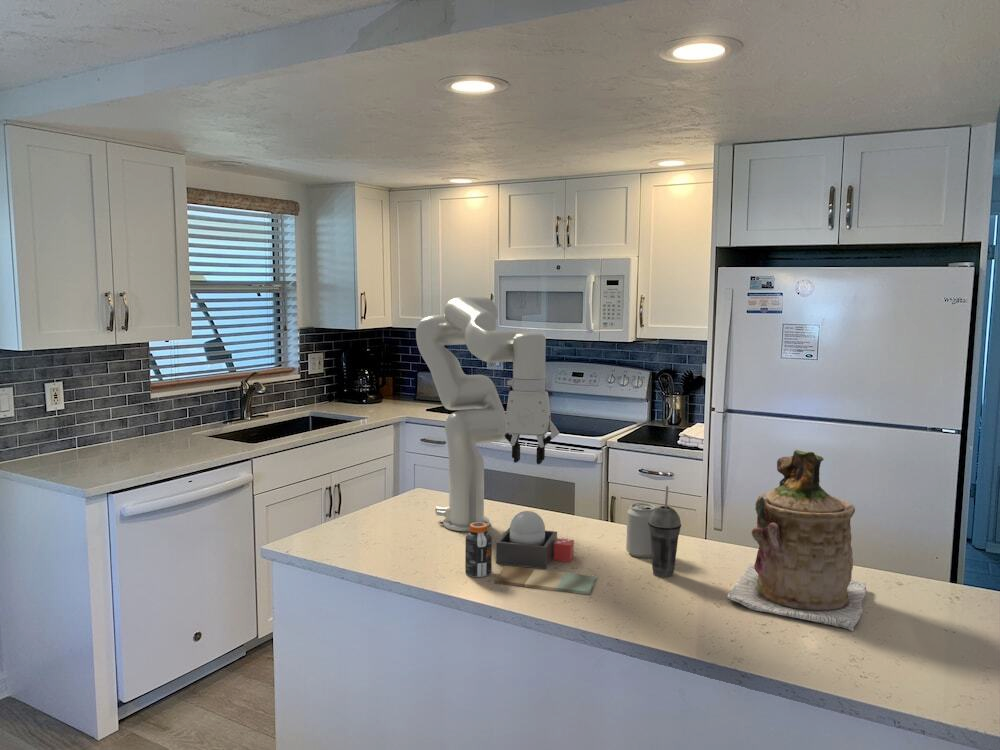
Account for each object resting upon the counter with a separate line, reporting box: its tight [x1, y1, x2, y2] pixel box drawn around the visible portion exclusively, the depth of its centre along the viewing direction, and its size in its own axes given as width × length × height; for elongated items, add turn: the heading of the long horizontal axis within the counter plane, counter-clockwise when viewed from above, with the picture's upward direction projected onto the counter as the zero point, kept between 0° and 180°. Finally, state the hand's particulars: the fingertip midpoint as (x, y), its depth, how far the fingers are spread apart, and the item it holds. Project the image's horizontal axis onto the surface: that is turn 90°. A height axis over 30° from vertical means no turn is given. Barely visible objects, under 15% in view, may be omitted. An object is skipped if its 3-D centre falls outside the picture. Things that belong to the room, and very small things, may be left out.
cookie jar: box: [727, 449, 867, 632], centre depth 152 cm, size 25×25×32 cm
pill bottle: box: [464, 522, 493, 578], centre depth 166 cm, size 6×6×11 cm
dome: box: [509, 510, 546, 546], centre depth 175 cm, size 8×8×8 cm
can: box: [625, 502, 657, 559], centre depth 179 cm, size 8×8×12 cm
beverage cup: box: [648, 485, 682, 579], centre depth 165 cm, size 7×7×20 cm
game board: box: [493, 565, 597, 595], centre depth 162 cm, size 21×9×1 cm, turn 73°
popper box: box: [495, 527, 575, 570], centre depth 175 cm, size 16×12×5 cm
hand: (528, 461), depth 174 cm, fingers open, 4 cm apart
